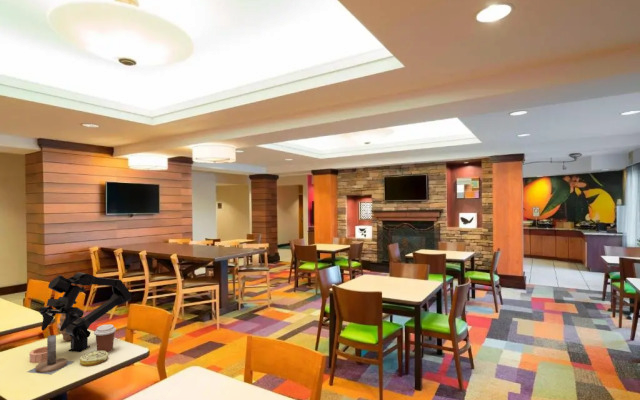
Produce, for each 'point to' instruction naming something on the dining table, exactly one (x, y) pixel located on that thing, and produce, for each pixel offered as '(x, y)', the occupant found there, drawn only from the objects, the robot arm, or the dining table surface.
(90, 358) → the decorated donut
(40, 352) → the bowl
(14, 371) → the dining table surface
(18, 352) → the dining table surface
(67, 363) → the mat
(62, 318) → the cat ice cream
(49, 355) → the lid
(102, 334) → the coffee cup
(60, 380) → the dining table surface
